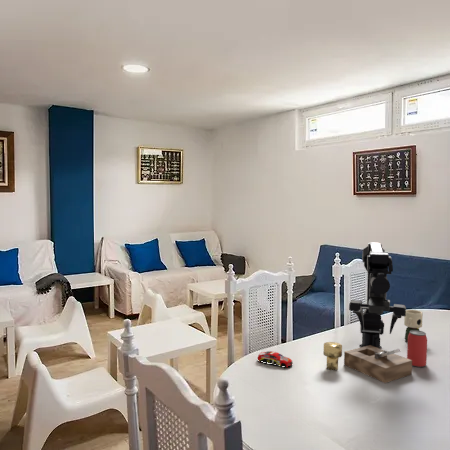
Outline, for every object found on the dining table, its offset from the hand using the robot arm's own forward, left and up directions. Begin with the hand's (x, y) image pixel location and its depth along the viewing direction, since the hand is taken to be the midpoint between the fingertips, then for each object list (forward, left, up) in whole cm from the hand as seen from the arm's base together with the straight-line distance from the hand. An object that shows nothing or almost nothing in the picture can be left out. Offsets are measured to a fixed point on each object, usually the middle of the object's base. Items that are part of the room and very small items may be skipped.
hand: (376, 331), depth 153 cm
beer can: (+4, +18, -14) cm, 23 cm away
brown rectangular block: (0, +1, -14) cm, 14 cm away
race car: (-23, -27, -14) cm, 38 cm away
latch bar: (+5, +1, -7) cm, 9 cm away
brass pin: (-9, -12, -14) cm, 21 cm away
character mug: (-13, +40, -14) cm, 44 cm away
